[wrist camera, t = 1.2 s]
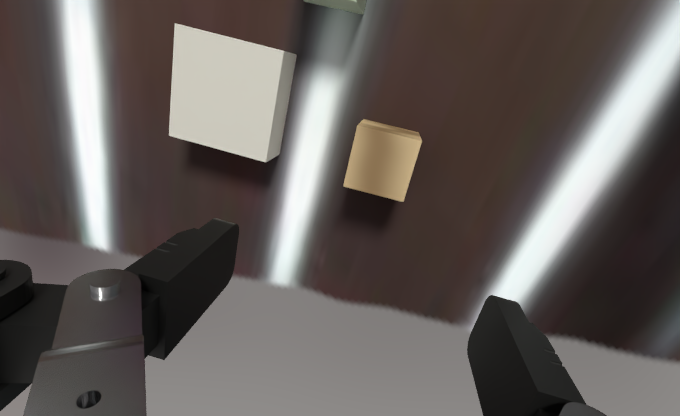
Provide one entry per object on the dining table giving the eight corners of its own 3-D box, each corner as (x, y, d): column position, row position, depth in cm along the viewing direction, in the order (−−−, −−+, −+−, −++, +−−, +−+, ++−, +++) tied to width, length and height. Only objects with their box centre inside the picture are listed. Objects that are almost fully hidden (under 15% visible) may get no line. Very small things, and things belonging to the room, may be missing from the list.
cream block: (297, 54, 31) (283, 50, 27) (280, 153, 34) (265, 162, 30) (201, 30, 31) (175, 23, 27) (193, 129, 34) (168, 135, 31)
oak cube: (418, 132, 31) (421, 141, 26) (402, 185, 33) (403, 202, 28) (363, 118, 31) (357, 125, 27) (351, 171, 33) (343, 186, 28)
